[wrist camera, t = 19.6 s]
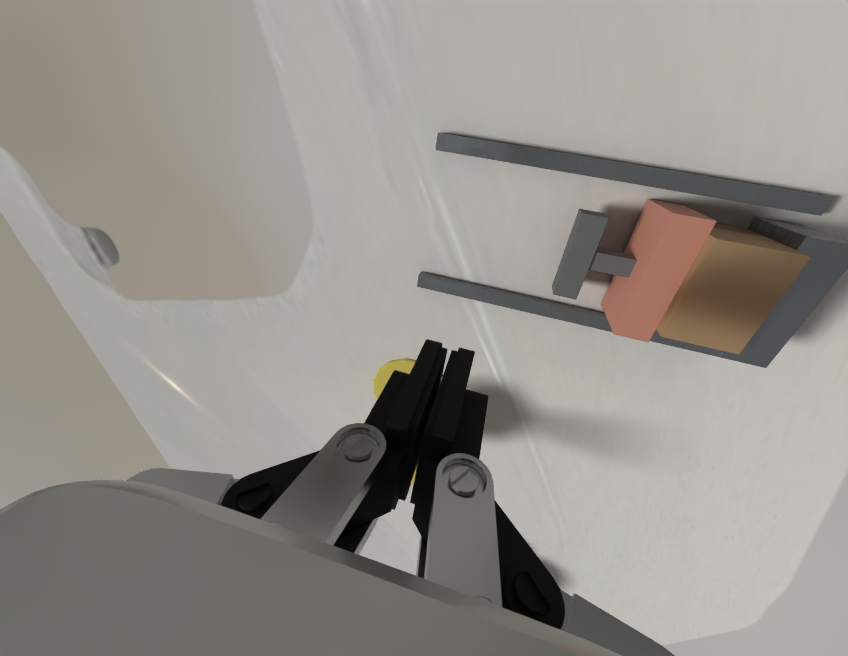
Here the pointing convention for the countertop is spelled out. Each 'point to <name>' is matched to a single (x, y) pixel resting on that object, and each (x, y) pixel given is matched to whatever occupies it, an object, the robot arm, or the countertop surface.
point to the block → (730, 289)
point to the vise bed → (824, 249)
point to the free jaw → (635, 264)
